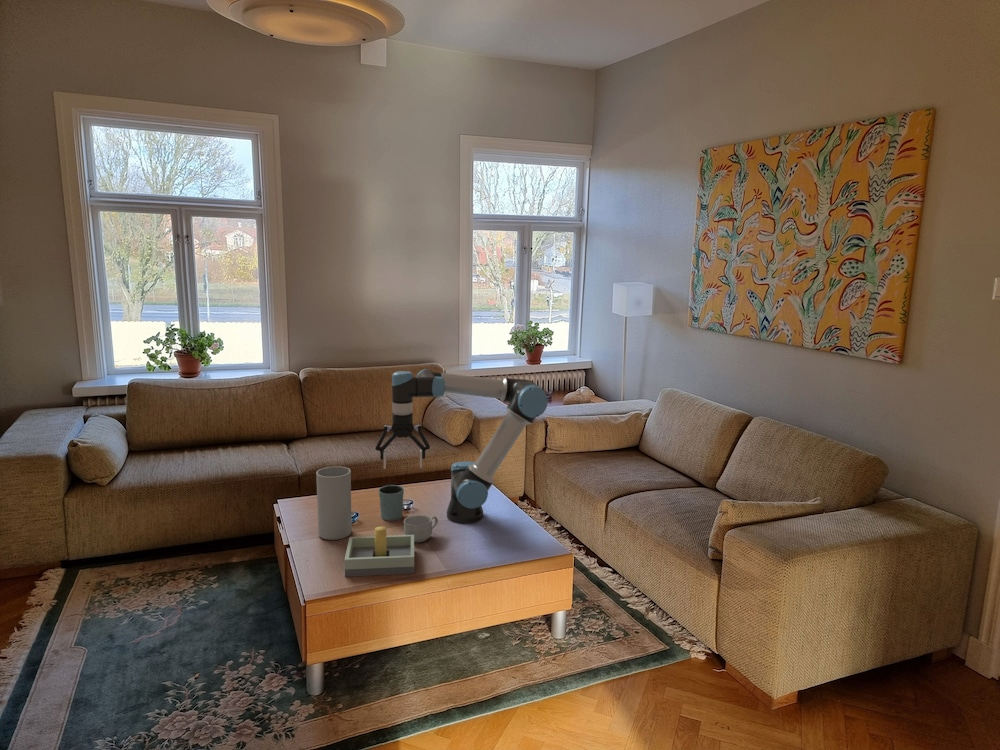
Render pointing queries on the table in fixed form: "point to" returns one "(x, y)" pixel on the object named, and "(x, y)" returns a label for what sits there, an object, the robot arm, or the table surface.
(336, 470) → the cylinder vase
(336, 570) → the table surface
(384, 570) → the box
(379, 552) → the peg
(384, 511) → the grey-green cup
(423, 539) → the teacup
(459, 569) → the table surface
